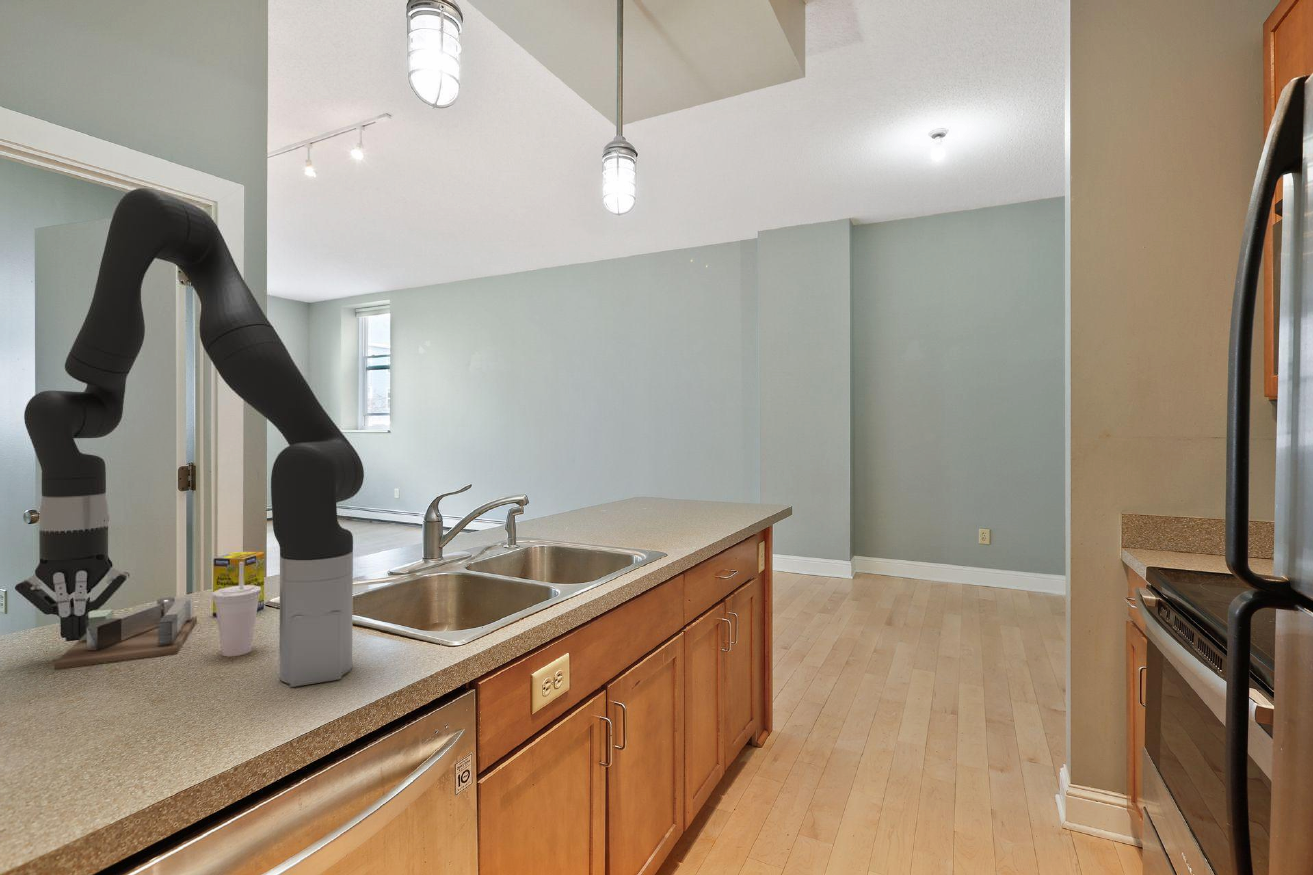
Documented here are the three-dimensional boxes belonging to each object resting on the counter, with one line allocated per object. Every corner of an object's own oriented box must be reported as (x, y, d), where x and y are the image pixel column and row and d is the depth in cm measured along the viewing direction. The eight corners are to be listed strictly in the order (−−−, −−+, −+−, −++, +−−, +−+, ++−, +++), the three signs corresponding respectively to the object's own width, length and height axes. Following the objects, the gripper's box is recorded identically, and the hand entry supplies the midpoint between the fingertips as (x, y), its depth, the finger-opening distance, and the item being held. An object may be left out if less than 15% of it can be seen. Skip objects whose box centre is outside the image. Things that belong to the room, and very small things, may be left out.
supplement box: (244, 618, 112) (244, 558, 112) (211, 617, 112) (211, 557, 112) (265, 608, 118) (265, 551, 118) (234, 607, 118) (234, 550, 118)
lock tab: (105, 637, 98) (105, 615, 98) (80, 640, 96) (80, 618, 96) (113, 630, 101) (113, 609, 101) (89, 632, 100) (89, 611, 100)
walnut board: (176, 653, 95) (176, 647, 95) (54, 669, 88) (54, 662, 88) (196, 621, 110) (196, 615, 110) (93, 632, 103) (93, 627, 103)
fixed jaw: (175, 644, 96) (175, 619, 96) (136, 649, 94) (136, 623, 94) (193, 617, 109) (193, 595, 109) (158, 621, 107) (158, 598, 106)
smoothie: (266, 652, 96) (266, 562, 96) (217, 663, 91) (217, 569, 91) (254, 641, 101) (255, 556, 100) (207, 651, 96) (207, 562, 96)
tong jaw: (97, 650, 93) (97, 626, 92) (86, 650, 93) (86, 626, 93) (161, 625, 104) (161, 604, 104) (151, 625, 104) (151, 603, 104)
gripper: (2, 531, 86) (2, 654, 86) (124, 525, 92) (124, 640, 93) (24, 523, 93) (25, 638, 93) (137, 518, 99) (137, 625, 99)
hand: (75, 639), depth 93 cm, fingers closed
